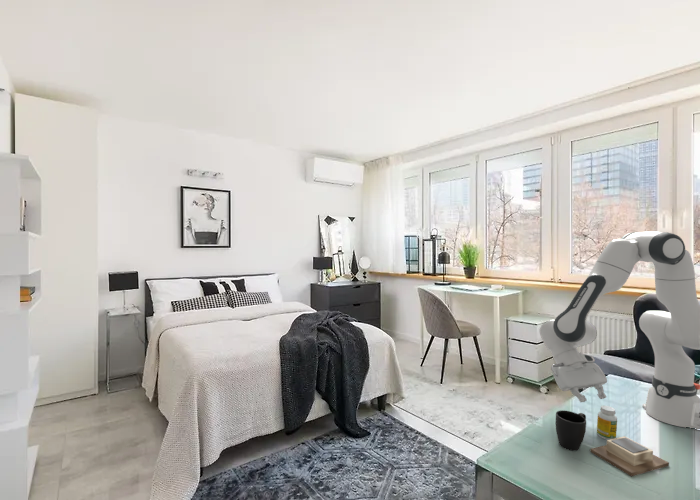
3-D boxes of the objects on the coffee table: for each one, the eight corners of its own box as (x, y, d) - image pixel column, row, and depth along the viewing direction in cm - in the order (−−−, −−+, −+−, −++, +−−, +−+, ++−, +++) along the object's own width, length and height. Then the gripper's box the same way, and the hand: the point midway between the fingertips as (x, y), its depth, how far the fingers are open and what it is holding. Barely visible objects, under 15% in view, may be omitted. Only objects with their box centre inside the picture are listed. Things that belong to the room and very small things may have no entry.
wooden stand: (625, 443, 119) (626, 430, 119) (668, 465, 108) (669, 451, 107) (590, 451, 113) (591, 438, 113) (631, 476, 102) (632, 461, 102)
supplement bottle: (600, 430, 127) (602, 403, 126) (618, 437, 122) (620, 409, 122) (593, 434, 124) (595, 406, 123) (611, 442, 119) (613, 413, 119)
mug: (596, 446, 116) (598, 417, 116) (574, 456, 111) (576, 425, 110) (570, 433, 124) (572, 406, 123) (548, 442, 118) (550, 413, 117)
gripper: (554, 360, 130) (578, 399, 121) (595, 356, 137) (621, 393, 128) (543, 368, 134) (565, 407, 126) (583, 363, 141) (607, 400, 133)
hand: (593, 399), depth 127 cm, fingers open, 8 cm apart
